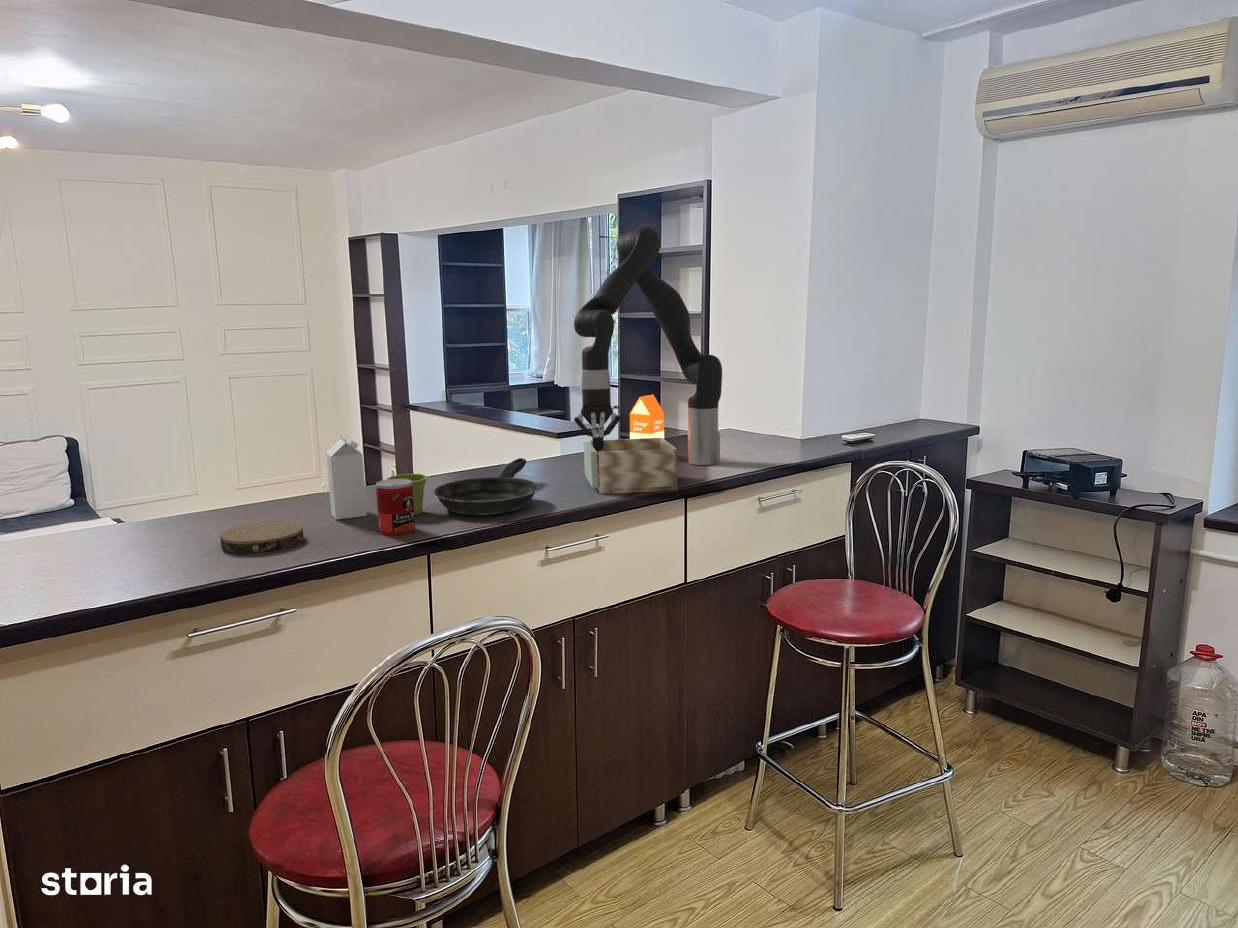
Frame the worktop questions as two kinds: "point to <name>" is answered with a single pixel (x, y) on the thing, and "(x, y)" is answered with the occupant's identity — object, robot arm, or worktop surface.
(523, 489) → the frying pan
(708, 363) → the robot arm
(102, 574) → the worktop surface
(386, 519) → the canned food
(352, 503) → the milk carton
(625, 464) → the crate
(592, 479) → the tailgate
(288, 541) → the brown flat disc
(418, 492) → the plant pot
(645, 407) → the orange juice
